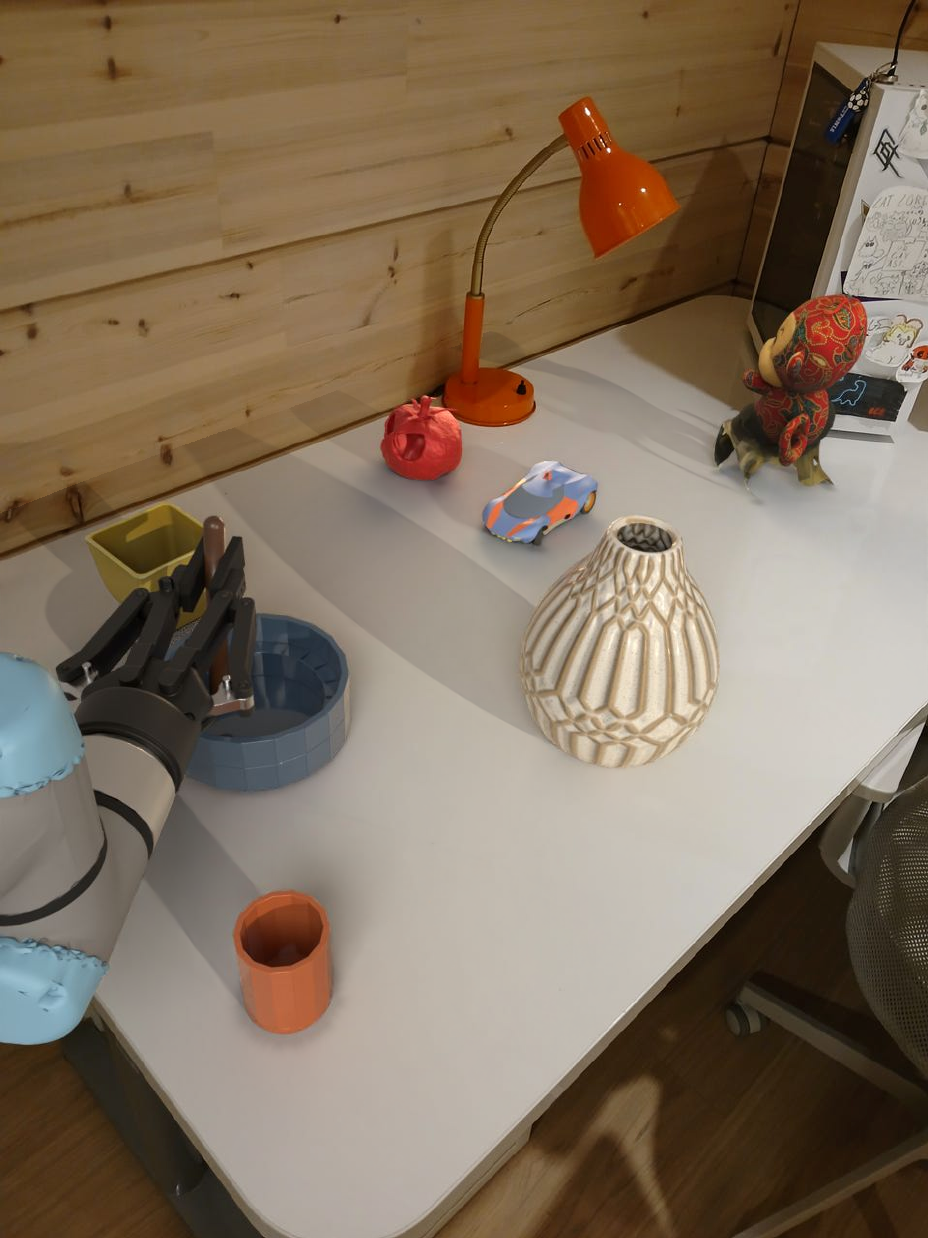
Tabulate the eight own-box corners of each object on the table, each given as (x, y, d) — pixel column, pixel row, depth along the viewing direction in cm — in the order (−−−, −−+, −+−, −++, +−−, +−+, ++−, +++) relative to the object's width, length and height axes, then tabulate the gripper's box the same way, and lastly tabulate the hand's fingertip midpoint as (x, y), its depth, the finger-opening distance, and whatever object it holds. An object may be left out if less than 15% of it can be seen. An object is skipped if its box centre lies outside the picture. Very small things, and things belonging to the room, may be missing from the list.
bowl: (135, 785, 74) (122, 731, 71) (196, 657, 86) (187, 605, 83) (329, 806, 74) (327, 753, 70) (363, 675, 86) (363, 622, 82)
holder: (233, 1029, 60) (221, 967, 55) (256, 948, 64) (248, 885, 60) (322, 1040, 60) (317, 979, 55) (339, 957, 64) (337, 894, 60)
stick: (207, 707, 78) (199, 518, 71) (213, 697, 79) (206, 511, 72) (226, 709, 77) (221, 520, 71) (232, 699, 79) (227, 513, 72)
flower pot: (153, 659, 86) (138, 578, 80) (100, 614, 90) (82, 534, 85) (234, 616, 91) (225, 537, 85) (180, 576, 95) (167, 498, 90)
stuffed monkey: (838, 447, 121) (917, 271, 101) (823, 541, 112) (906, 368, 92) (720, 419, 124) (774, 242, 104) (695, 508, 114) (749, 333, 94)
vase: (641, 652, 90) (684, 465, 78) (734, 774, 79) (802, 579, 66) (484, 686, 85) (502, 492, 73) (558, 821, 74) (595, 619, 61)
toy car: (465, 532, 104) (468, 490, 101) (542, 480, 114) (547, 440, 111) (526, 561, 101) (531, 518, 97) (600, 505, 110) (607, 464, 107)
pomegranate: (436, 439, 120) (439, 369, 114) (477, 477, 114) (483, 404, 108) (365, 456, 116) (364, 384, 110) (403, 496, 109) (404, 422, 104)
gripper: (10, 802, 60) (140, 578, 78) (242, 826, 59) (318, 595, 78) (-21, 716, 55) (125, 499, 73) (231, 741, 55) (314, 517, 73)
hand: (224, 549), depth 75 cm, fingers closed on stick, 1 cm apart
